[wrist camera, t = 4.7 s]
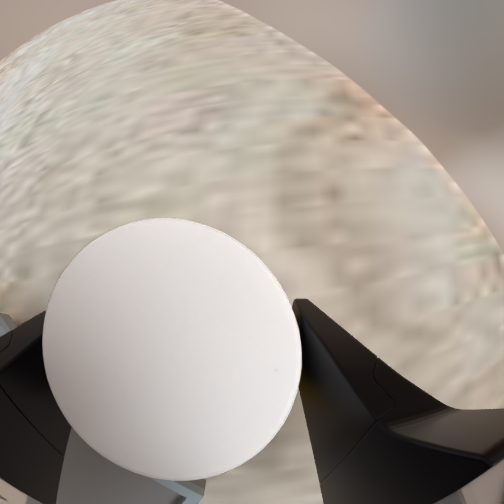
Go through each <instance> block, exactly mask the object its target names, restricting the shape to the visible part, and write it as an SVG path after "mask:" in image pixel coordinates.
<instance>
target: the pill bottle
mask: <svg viewBox="0 0 504 504" xmlns="http://www.w3.org/2000/svg"><path fill="white" fill-rule="evenodd" d="M42 346H43V358H44V366H45V371H46V375H47V379H48V382H49V385H50V388H51V390H52V393H53V395H54V398H55V400H56V402H57V404H58V406H59V408H60V410H61V411H62V413H63V415H64V416H65V418H66V419H67V421H68V422H69V424H70V425H71V426H72V428H73V429H74V430H75V431H76V432H77V433H78V435H79V436H80V437H81V438H82V439H83V440H84V441H85V442H86V443H87V444H88V445H89V446H90V447H91V448H93V449H94V450H95V451H97V452H98V453H99V454H100V455H102V456H103V457H105V458H106V459H108V460H109V461H111V462H113V463H114V464H116V465H118V466H120V467H123V468H125V469H127V470H129V471H132V472H134V473H137V474H140V475H143V476H146V477H151V478H157V479H163V480H171V481H190V480H198V479H204V478H209V477H213V476H216V475H219V474H222V473H225V472H227V471H230V470H232V469H234V468H236V467H238V466H240V465H242V464H243V463H245V462H246V461H248V460H249V459H251V458H252V457H254V456H255V455H256V454H257V453H259V452H260V451H261V450H262V449H263V448H264V447H265V446H266V445H267V444H268V443H269V442H270V441H271V440H272V439H273V437H274V436H275V435H276V434H277V432H278V431H279V429H280V428H281V427H282V425H283V424H284V422H285V420H286V418H287V417H288V415H289V413H290V411H291V408H292V406H293V403H294V400H295V397H296V395H297V391H298V386H299V382H300V376H301V368H302V350H301V340H300V333H299V328H298V325H297V321H296V318H295V315H294V312H293V310H292V307H291V305H290V302H289V300H288V297H287V295H286V293H285V292H284V290H283V288H282V287H281V285H280V283H279V282H278V280H277V279H276V277H275V276H274V275H273V273H272V272H271V271H270V270H269V268H268V267H267V266H266V265H265V264H264V263H263V262H262V261H261V260H260V259H259V258H258V257H257V256H256V255H255V254H254V253H253V252H252V251H251V250H249V249H248V248H247V247H245V246H244V245H243V244H241V243H240V242H238V241H237V240H236V239H234V238H232V237H231V236H229V235H227V234H225V233H223V232H221V231H219V230H217V229H214V228H212V227H210V226H207V225H204V224H200V223H197V222H193V221H190V220H183V219H175V218H153V219H146V220H140V221H136V222H132V223H128V224H125V225H122V226H120V227H117V228H115V229H112V230H111V231H109V232H107V233H105V234H103V235H101V236H100V237H98V238H97V239H95V240H94V241H92V242H91V243H90V244H88V245H87V246H86V247H85V248H84V249H82V250H81V251H80V252H79V253H78V254H77V255H76V256H75V257H74V258H73V260H72V261H71V262H70V263H69V265H68V266H67V267H66V268H65V270H64V272H63V273H62V275H61V276H60V278H59V280H58V282H57V284H56V286H55V288H54V290H53V292H52V295H51V297H50V299H49V303H48V306H47V310H46V314H45V319H44V326H43V338H42Z"/></svg>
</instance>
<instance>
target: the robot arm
mask: <svg viewBox="0 0 504 504" xmlns="http://www.w3.org/2000/svg"><path fill="white" fill-rule="evenodd" d="M292 310H293V312H294V315H295V318H296V321H297V325H298V328H299V333H300V340H301V350H302V368H301V376H300V382H299V386H298V387H299V391H300V396H301V400H302V404H303V409H304V413H305V418H306V422H307V427H308V431H309V436H310V441H311V445H312V450H313V454H314V459H315V464H316V468H317V473H318V478H319V482H320V488H321V493H322V498H323V503H324V504H504V408H503V409H481V410H461V409H455V408H452V407H449V406H447V405H445V404H443V403H442V402H440V401H438V400H437V399H435V398H434V397H432V396H431V395H429V394H428V393H426V392H425V391H423V390H422V389H420V388H419V387H417V386H416V385H414V384H413V383H411V382H410V381H408V380H407V379H406V378H404V377H403V376H401V375H400V374H399V373H397V372H396V371H395V370H393V369H392V368H391V367H390V366H388V365H387V364H386V363H385V362H383V361H382V360H381V359H380V358H377V356H376V355H375V354H374V353H372V352H371V351H370V350H369V349H367V348H366V347H365V346H364V345H363V344H361V343H360V342H359V341H358V340H357V339H355V338H354V337H353V336H352V335H350V334H349V333H348V332H347V331H346V330H344V329H343V328H342V327H341V326H340V325H338V324H337V323H336V322H335V321H334V320H332V319H331V318H330V317H329V316H327V315H326V314H325V313H324V312H323V311H321V310H320V309H319V308H318V307H317V306H315V305H314V304H313V303H312V302H310V301H309V300H308V299H295V300H294V302H293V306H292ZM45 314H46V311H44V312H42V313H40V314H39V315H37V316H35V317H33V318H32V319H30V320H28V321H26V322H25V323H23V324H21V325H19V326H18V327H16V328H14V330H11V331H9V332H7V333H6V334H4V335H2V336H0V504H26V501H27V497H28V496H29V497H31V498H33V499H35V500H37V501H38V502H40V503H42V504H56V501H57V494H58V488H59V482H60V477H61V472H62V467H63V462H64V456H65V452H66V448H67V444H68V440H69V436H70V432H71V428H72V426H71V425H70V424H69V422H68V421H67V419H66V418H65V416H64V415H63V413H62V411H61V410H60V408H59V406H58V404H57V402H56V400H55V398H54V395H53V393H52V390H51V388H50V385H49V382H48V379H47V375H46V371H45V366H44V358H43V346H42V338H43V326H44V319H45Z"/></svg>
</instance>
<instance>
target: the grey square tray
mask: <svg viewBox="0 0 504 504" xmlns="http://www.w3.org/2000/svg"><path fill="white" fill-rule="evenodd" d="M16 327H18V326H17V325H16V324H15V322H14V321H13V320H12V318H11V317H10V316H9V315H7V314H3V313H0V336H2V335H4V334H6V333H7V332H9V331H11V330H14V328H16ZM205 483H206V480H205V479H198V480H190V481H171V480H163V479H157V478H151V477H146V476H143V475H140V474H137V473H134V472H132V471H129V470H127V469H125V468H123V467H120V466H118V465H116V464H114V463H113V462H111V461H109V460H108V459H106V458H105V457H103V456H102V455H100V454H99V453H98V452H97V451H95V450H94V449H93V448H91V447H90V446H89V445H88V444H87V443H86V442H85V441H84V440H83V439H82V438H81V437H80V436H79V435H78V433H77V432H76V431H75V430H74V429H73V428H71V432H70V436H69V440H68V444H67V448H66V452H65V456H64V462H63V467H62V472H61V477H60V482H59V488H58V494H57V501H56V504H197V503H198V502H199V501H200V500H201V499H202V497H203V496H204V490H205ZM26 504H42V503H40V502H38V501H37V500H35V499H33V498H31V497H29V496H28V497H27V501H26Z"/></svg>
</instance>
